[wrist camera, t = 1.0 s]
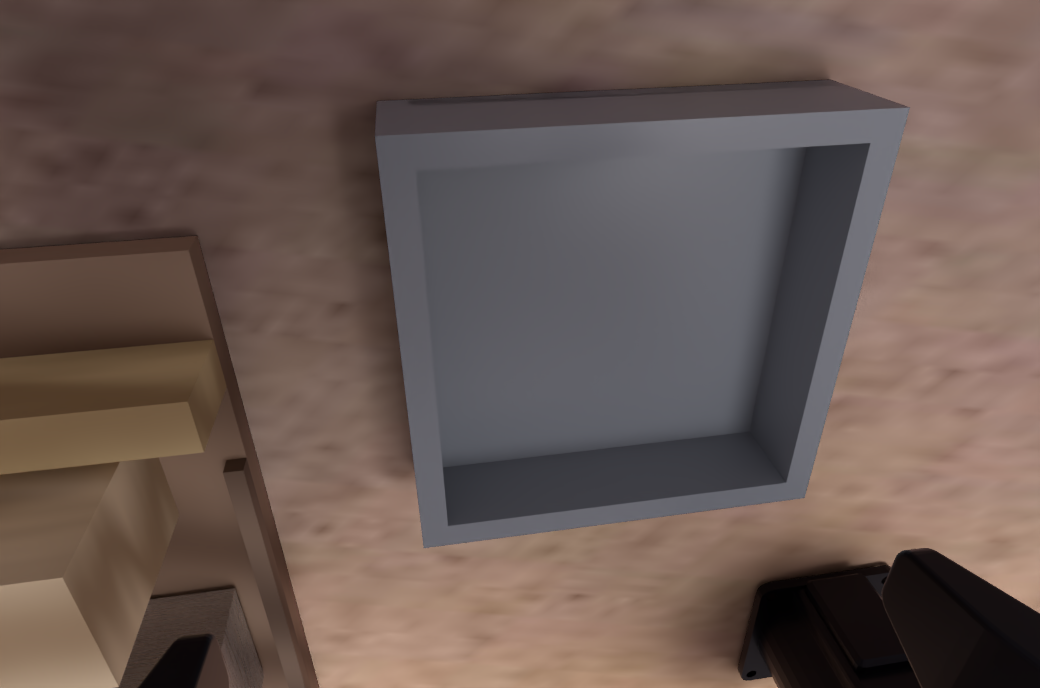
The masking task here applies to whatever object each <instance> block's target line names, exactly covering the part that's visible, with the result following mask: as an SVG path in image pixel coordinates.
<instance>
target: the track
mask: <svg viewBox="0 0 1040 688" xmlns="http://www.w3.org/2000/svg"><path fill="white" fill-rule="evenodd" d="M157 457H159V460H160V463H161V465H162V468H163V471H164V474H165V476H166V479H167V482H168V485H169V487H170V490H171V493H172V496H173V498H174V501H175V504H176V507H177V509H178V512H179V517H178V520H177V523H176V526H175V528H174V531H173V534H172V537H171V540H170V543H169V546H168V548H167V551H166V554H165V557H164V560H163V563H162V566H161V568H160V571H159V574H158V577H157V580H156V583H155V585H154V588H153V591H152V594H151V597H150V600H151V599H159V598H166V597H174V596H181V595H188V594H196V593H203V592H211V591H218V590H226V589H233V588H235V590H236V593H237V596H238V599H239V602H240V605H241V608H242V611H243V614H244V617H245V620H246V623H247V626H248V629H249V632H250V635H251V638H252V641H253V644H254V647H255V650H256V653H257V656H258V659H259V662H260V665H261V668H262V671H263V674H264V679H263V685H262V688H319V685H318V681H317V678H316V674H315V670H314V667H313V663H312V659H311V655H310V652H309V648H308V644H307V641H306V637H305V633H304V630H303V626H302V622H301V618H300V615H299V611H298V607H297V604H296V600H295V596H294V592H293V589H292V585H291V581H290V578H289V574H288V570H287V566H286V563H285V559H284V555H283V552H282V548H281V544H280V540H279V537H278V533H277V529H276V526H275V522H274V518H273V514H272V511H271V507H270V503H269V500H268V496H267V492H266V488H265V485H264V481H263V477H262V474H261V470H260V466H259V462H258V459H257V455H256V451H255V448H254V444H253V440H252V436H251V433H250V429H249V425H248V422H247V418H246V414H245V410H244V407H243V403H242V399H241V396H240V392H239V388H238V384H237V381H236V377H235V373H234V370H233V366H232V362H231V358H230V355H229V351H228V347H227V344H226V340H225V336H224V332H223V329H222V325H221V321H220V318H219V314H218V310H217V306H216V303H215V299H214V295H213V292H212V288H211V284H210V280H209V277H208V273H207V269H206V266H205V262H204V258H203V254H202V251H201V247H200V243H199V240H198V236H187V237H173V238H159V239H144V240H130V241H116V242H101V243H87V244H73V245H58V246H44V247H30V248H15V249H1V250H0V475H2V474H11V473H20V472H29V471H38V470H48V469H57V468H66V467H75V466H84V465H93V464H103V463H112V462H121V461H130V460H139V459H148V458H157Z"/></svg>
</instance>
